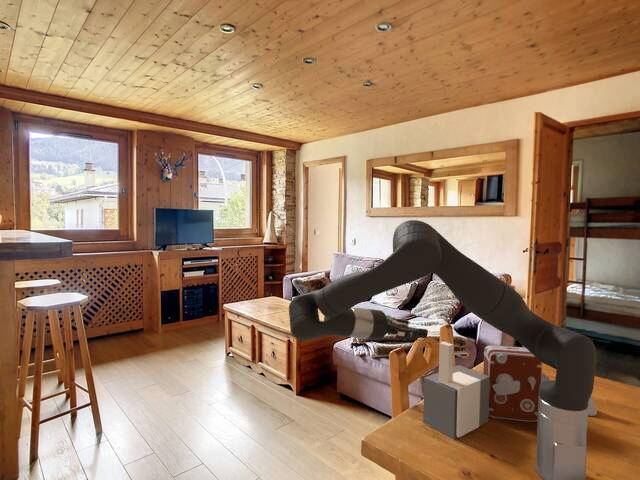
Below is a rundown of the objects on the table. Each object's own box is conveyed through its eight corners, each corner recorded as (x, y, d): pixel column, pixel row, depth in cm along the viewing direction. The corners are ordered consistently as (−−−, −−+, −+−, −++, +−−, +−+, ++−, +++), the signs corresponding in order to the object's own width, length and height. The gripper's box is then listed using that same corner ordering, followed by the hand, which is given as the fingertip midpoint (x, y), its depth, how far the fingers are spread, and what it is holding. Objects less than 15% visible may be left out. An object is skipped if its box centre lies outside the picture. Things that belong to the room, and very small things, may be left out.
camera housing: (464, 403, 116) (465, 362, 116) (495, 417, 108) (496, 373, 107) (423, 422, 105) (424, 377, 105) (453, 439, 97) (455, 391, 96)
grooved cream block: (457, 415, 107) (459, 337, 106) (479, 426, 101) (481, 343, 100) (437, 425, 102) (439, 342, 101) (458, 437, 96) (461, 350, 95)
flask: (569, 413, 111) (571, 380, 110) (566, 402, 117) (568, 371, 117) (599, 419, 108) (601, 385, 107) (595, 408, 114) (596, 376, 113)
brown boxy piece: (562, 428, 103) (565, 357, 102) (487, 420, 107) (489, 351, 106) (549, 411, 112) (552, 346, 111) (480, 404, 116) (482, 341, 115)
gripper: (381, 316, 88) (436, 322, 94) (354, 302, 101) (404, 308, 107) (375, 347, 88) (431, 351, 94) (349, 329, 101) (399, 334, 107)
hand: (416, 328), depth 100 cm, fingers open, 8 cm apart
